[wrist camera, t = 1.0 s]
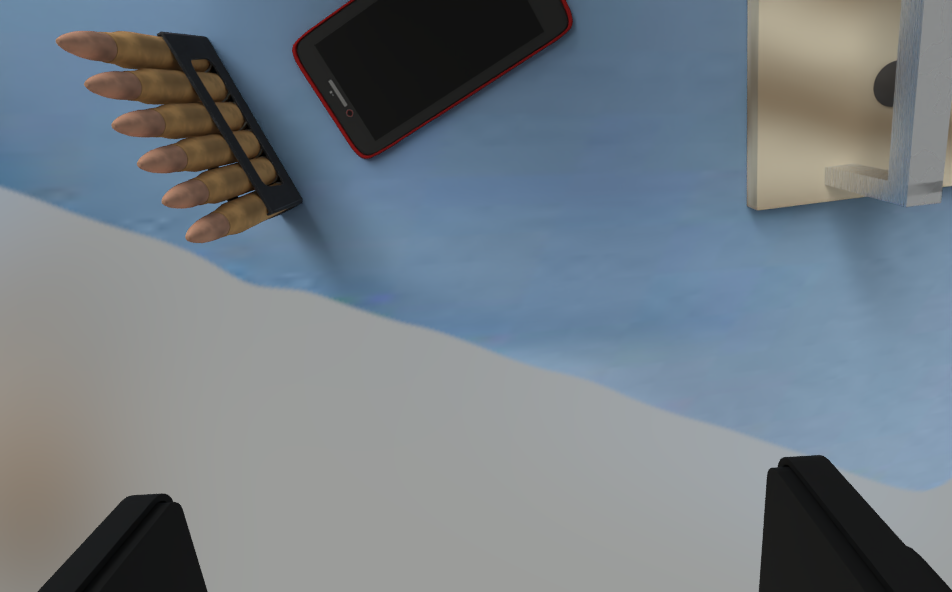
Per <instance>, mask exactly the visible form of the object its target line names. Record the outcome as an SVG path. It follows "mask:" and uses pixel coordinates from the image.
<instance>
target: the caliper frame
mask: <svg viewBox="0 0 952 592" xmlns="http://www.w3.org/2000/svg"><path fill="white" fill-rule="evenodd" d="M951 101H952V0H901V14H900V27H899V40H898V53H897V66H896V79H895V92H894V105H893V118H892V131H891V144H890V158H889V170H884V169H879V168H874V167H869V166H863V165H858V164H845V165H838V166H830V167H825V185H827V186H831V187H835V188H838V189H842V190H846V191H849V192H853V193H857V194H860V195H864V196H868V197H871V198H875V199H879V200H882V201H886V202H890V203H893V204H897V205H901V206H904V207H910V206H919V205H927V204H935V203H941V197H942V187H943V178H944V168H945V159H946V149H947V139H948V130H949V120H950V111H951Z"/></svg>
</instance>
